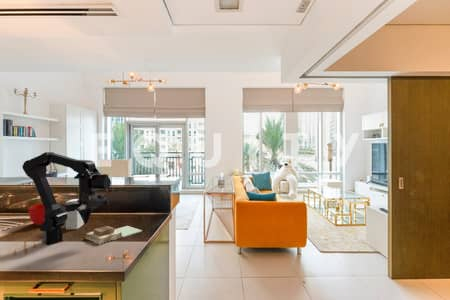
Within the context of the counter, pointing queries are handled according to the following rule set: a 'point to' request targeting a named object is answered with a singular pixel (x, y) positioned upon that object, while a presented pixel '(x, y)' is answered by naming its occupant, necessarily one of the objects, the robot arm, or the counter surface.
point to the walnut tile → (103, 230)
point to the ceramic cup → (37, 214)
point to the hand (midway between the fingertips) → (85, 223)
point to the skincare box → (73, 218)
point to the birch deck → (103, 237)
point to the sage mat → (128, 231)
